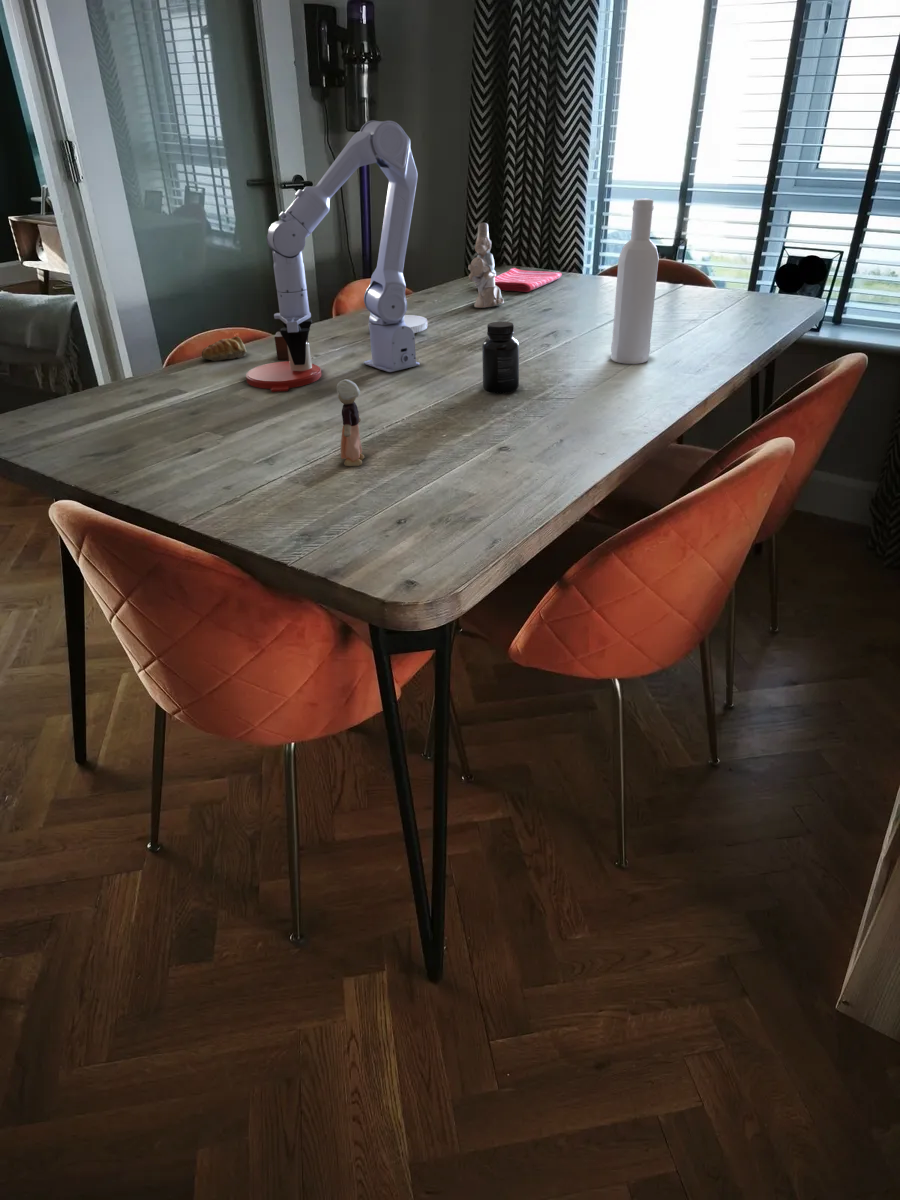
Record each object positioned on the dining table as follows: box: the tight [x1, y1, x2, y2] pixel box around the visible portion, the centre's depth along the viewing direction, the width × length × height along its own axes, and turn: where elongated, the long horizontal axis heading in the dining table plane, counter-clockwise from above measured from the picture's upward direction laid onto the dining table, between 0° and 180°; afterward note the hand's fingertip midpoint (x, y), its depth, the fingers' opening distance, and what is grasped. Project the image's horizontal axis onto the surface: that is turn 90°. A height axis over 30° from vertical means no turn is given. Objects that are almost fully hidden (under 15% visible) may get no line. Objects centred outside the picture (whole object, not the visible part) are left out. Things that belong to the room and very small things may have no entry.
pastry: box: [201, 336, 247, 362], centre depth 176 cm, size 9×7×4 cm
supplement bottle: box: [481, 321, 520, 395], centre depth 149 cm, size 7×7×12 cm
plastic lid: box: [367, 314, 428, 334], centre depth 192 cm, size 14×14×2 cm
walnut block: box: [274, 331, 289, 361], centre depth 175 cm, size 4×4×5 cm
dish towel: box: [495, 267, 563, 293], centre depth 237 cm, size 17×24×3 cm
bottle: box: [610, 197, 660, 365], centre depth 159 cm, size 8×8×30 cm
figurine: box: [467, 222, 505, 309], centre depth 209 cm, size 9×8×20 cm
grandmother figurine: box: [336, 379, 365, 467], centre depth 120 cm, size 8×4×13 cm, turn 5°
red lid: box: [245, 360, 322, 393], centre depth 161 cm, size 17×15×1 cm
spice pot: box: [287, 340, 313, 371], centre depth 160 cm, size 4×4×6 cm
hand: (300, 360), depth 161 cm, fingers closed on spice pot, 4 cm apart
